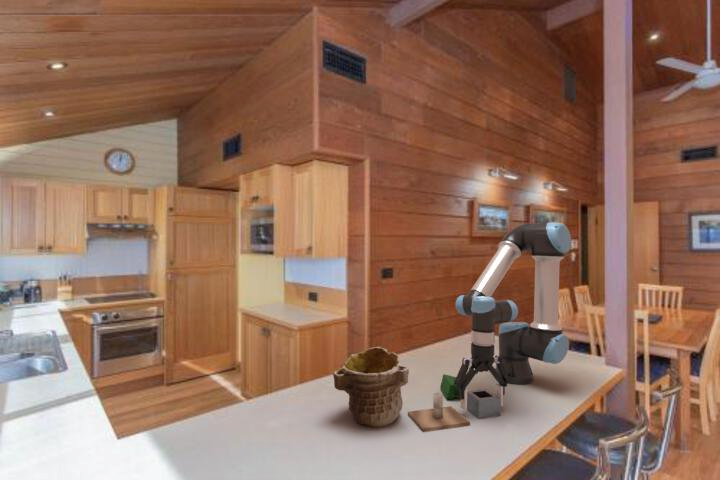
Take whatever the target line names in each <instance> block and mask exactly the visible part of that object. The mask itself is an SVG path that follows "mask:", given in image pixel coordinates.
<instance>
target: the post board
mask: <svg viewBox="0 0 720 480" xmlns="http://www.w3.org/2000/svg"><path fill="white" fill-rule="evenodd" d="M443 397H444V394H443V393H439V392H436V393H433V397H432V400H433V401H432V402H433V404H432V405H433V408H428V409H427V408H426V409H419V410H411V411H407V415H408V417H409V418H410V419H411V420H412V421H413V422H414V424H416V426H417V427H418V428H419V429H420V430H421V431H422V433H424V432H431V431H438V430H444V429H445V430H447V429H453V428H462V427H467V426H471V422H470V420H468V419H467V418H466V417H465V416H463V414H461V413H460V412H459V411H458V410H456V409H455V408H454V407H453V406H452V405H450V406H444V405H443V404H444V398H443Z"/></svg>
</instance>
